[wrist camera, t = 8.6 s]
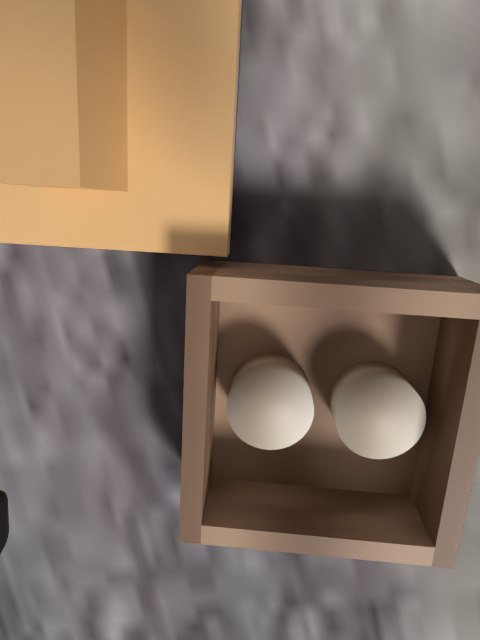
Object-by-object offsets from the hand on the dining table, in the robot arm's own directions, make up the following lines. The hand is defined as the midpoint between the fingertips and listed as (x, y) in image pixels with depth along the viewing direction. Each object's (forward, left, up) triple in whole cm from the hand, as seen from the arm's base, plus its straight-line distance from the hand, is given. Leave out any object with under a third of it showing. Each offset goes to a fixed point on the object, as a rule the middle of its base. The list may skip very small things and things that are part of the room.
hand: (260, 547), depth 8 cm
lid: (+7, -9, -11) cm, 16 cm away
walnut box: (-2, +2, -12) cm, 12 cm away
